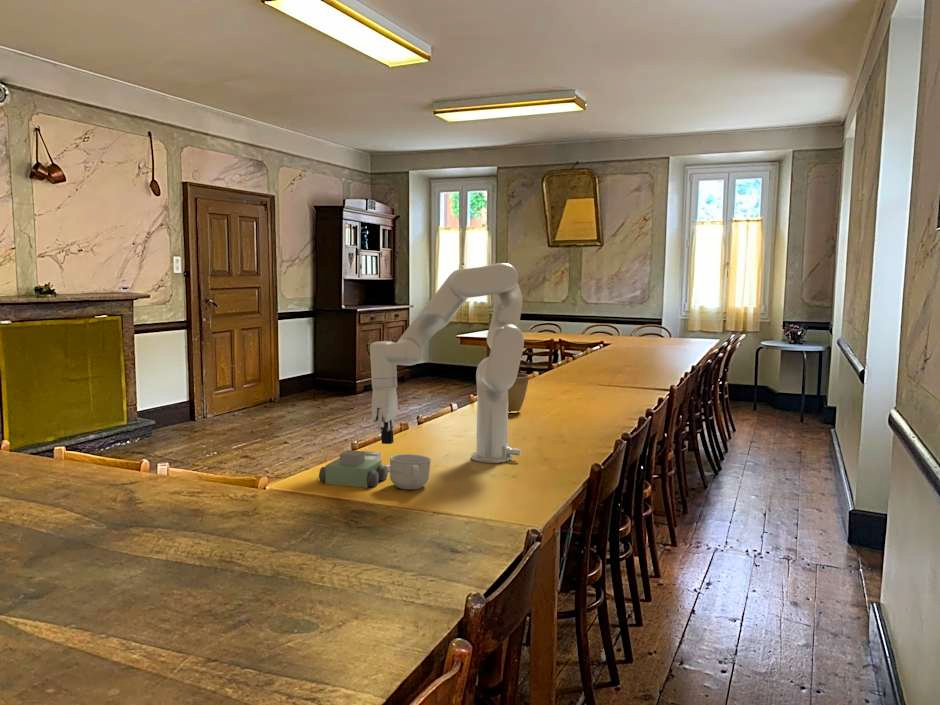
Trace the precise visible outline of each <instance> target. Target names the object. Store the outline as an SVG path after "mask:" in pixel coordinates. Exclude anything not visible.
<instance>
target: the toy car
mask: <svg viewBox="0 0 940 705" xmlns="http://www.w3.org/2000/svg"><path fill="white" fill-rule="evenodd" d="M388 472H390V464H386V465H384V464H383V465H382V459H381V460H373V459H365V450H350V449H347V450H345V451H343V452H342V453H340V454H339V458H337V459H335V460H333V461H331V462H329V463H327V464H326V465H325V466H322V467H321V468H320V469H319V473H318V479H319V481H320V482H322V483H325V485H334V486H335V485H336V486H346V487H354V488H355V487H356V488H357V487H358V488H364V489H365V488H369V487H374V488H376V487H377V486H378V484H379V481H386V480H387V478H388V474H389V473H388Z"/></svg>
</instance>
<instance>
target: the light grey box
mask: <svg viewBox="0 0 940 705" xmlns="http://www.w3.org/2000/svg"><path fill="white" fill-rule="evenodd" d="M364 451H365V450H364ZM365 459H373V460H381V461H382V453H381V451H380V452H378V451H365Z"/></svg>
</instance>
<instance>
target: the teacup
mask: <svg viewBox="0 0 940 705" xmlns="http://www.w3.org/2000/svg"><path fill="white" fill-rule="evenodd" d="M431 460H432V459H431V458H430V457H429V456H426V455H421V454H410V453H403V454H402V453H401V454H395V455H391V456H389V465H390V471H389V478H390V481H391V482H392V483H393V484H394V485H395V486H396V488H399V489H402V490H418V489H421V488H422V487H423V486H424V485H426V484H427V483H428V481H429V478H430V471H431Z"/></svg>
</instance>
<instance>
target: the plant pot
mask: <svg viewBox="0 0 940 705" xmlns="http://www.w3.org/2000/svg"><path fill="white" fill-rule="evenodd" d="M529 377H530V375H529V374H527V373H522V372H521V373H519V372H518V373H517V377H516V380H515V382H514V384H513V386H512V387H511V388H510V389H509V390H508V411H509V412H511V411H519V410H520V411H521V410H522V407H523V403H524V401H525V398H526V393H527V389H528V384H529V379H530V378H529Z"/></svg>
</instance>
